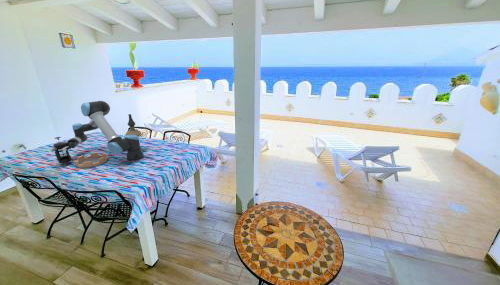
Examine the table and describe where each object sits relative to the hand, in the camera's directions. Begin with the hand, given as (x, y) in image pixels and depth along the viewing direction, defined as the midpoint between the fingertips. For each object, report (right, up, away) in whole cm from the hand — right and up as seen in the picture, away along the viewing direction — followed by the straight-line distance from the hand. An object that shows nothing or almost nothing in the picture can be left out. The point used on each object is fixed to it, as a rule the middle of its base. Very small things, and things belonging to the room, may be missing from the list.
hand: (57, 150), depth 177 cm
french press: (-1, -10, +9) cm, 14 cm away
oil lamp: (+45, -2, +43) cm, 63 cm away
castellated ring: (+20, -12, +14) cm, 27 cm away
